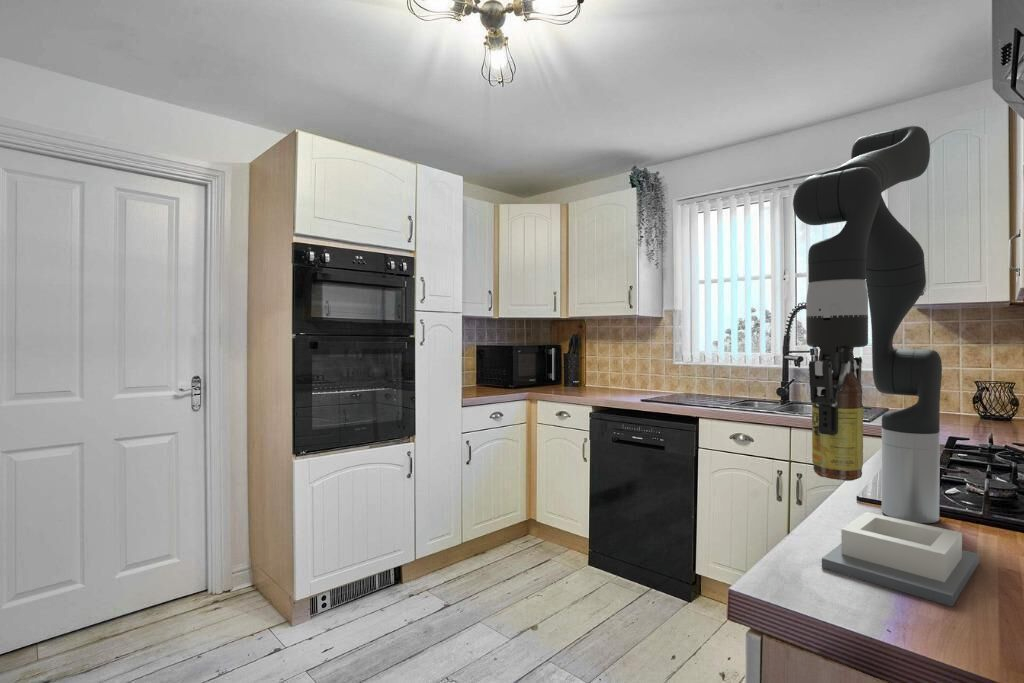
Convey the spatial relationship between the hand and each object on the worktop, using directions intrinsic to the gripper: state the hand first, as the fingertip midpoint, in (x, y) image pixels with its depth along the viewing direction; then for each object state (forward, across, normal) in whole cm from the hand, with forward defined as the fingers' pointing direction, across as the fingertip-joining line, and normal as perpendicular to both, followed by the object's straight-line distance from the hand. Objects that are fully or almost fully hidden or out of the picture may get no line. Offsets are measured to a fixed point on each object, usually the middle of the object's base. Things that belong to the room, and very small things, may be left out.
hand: (836, 430), depth 76 cm
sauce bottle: (+7, 0, 0) cm, 7 cm away
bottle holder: (+23, -16, +4) cm, 28 cm away
